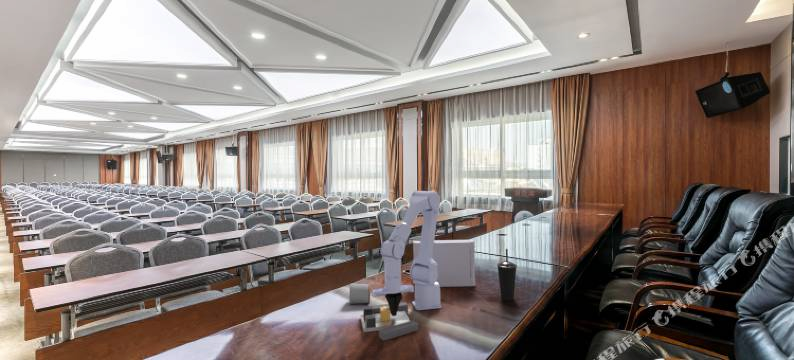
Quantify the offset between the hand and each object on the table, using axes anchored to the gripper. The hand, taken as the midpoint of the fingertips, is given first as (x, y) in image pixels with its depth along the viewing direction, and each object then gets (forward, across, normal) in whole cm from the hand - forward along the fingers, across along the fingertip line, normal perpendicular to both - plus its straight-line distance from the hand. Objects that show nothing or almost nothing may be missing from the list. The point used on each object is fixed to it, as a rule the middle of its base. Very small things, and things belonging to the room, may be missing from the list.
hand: (393, 314), depth 122 cm
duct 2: (+3, +1, +9) cm, 9 cm away
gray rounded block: (+3, +7, -23) cm, 24 cm away
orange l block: (+1, +3, 0) cm, 3 cm away
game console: (+3, -34, -28) cm, 44 cm away
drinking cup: (+3, -49, -3) cm, 49 cm away
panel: (+2, +3, 0) cm, 4 cm away
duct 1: (+3, -1, -8) cm, 9 cm away
